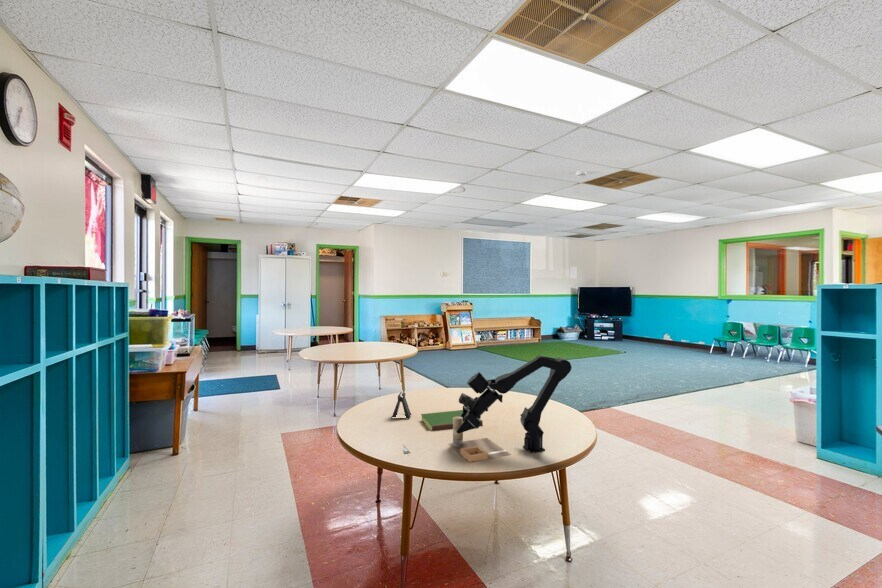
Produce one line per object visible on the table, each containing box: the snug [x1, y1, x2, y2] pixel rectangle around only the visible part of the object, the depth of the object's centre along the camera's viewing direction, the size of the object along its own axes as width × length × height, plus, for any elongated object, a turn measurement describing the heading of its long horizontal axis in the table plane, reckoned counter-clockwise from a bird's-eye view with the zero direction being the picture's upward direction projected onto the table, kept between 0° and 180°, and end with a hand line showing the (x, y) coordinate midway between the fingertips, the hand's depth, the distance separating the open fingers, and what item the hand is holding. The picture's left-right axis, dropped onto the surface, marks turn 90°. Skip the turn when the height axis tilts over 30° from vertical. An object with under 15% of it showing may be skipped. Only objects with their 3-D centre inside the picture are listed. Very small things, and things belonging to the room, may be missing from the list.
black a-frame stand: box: [391, 391, 412, 419], centre depth 200 cm, size 9×6×12 cm, turn 86°
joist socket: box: [459, 446, 489, 463], centre depth 150 cm, size 8×8×2 cm
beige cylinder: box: [452, 417, 464, 447], centre depth 161 cm, size 4×4×11 cm
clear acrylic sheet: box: [448, 437, 512, 463], centre depth 157 cm, size 18×19×1 cm
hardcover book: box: [420, 409, 484, 432], centre depth 190 cm, size 25×19×4 cm
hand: (456, 428), depth 161 cm, fingers open, 9 cm apart
